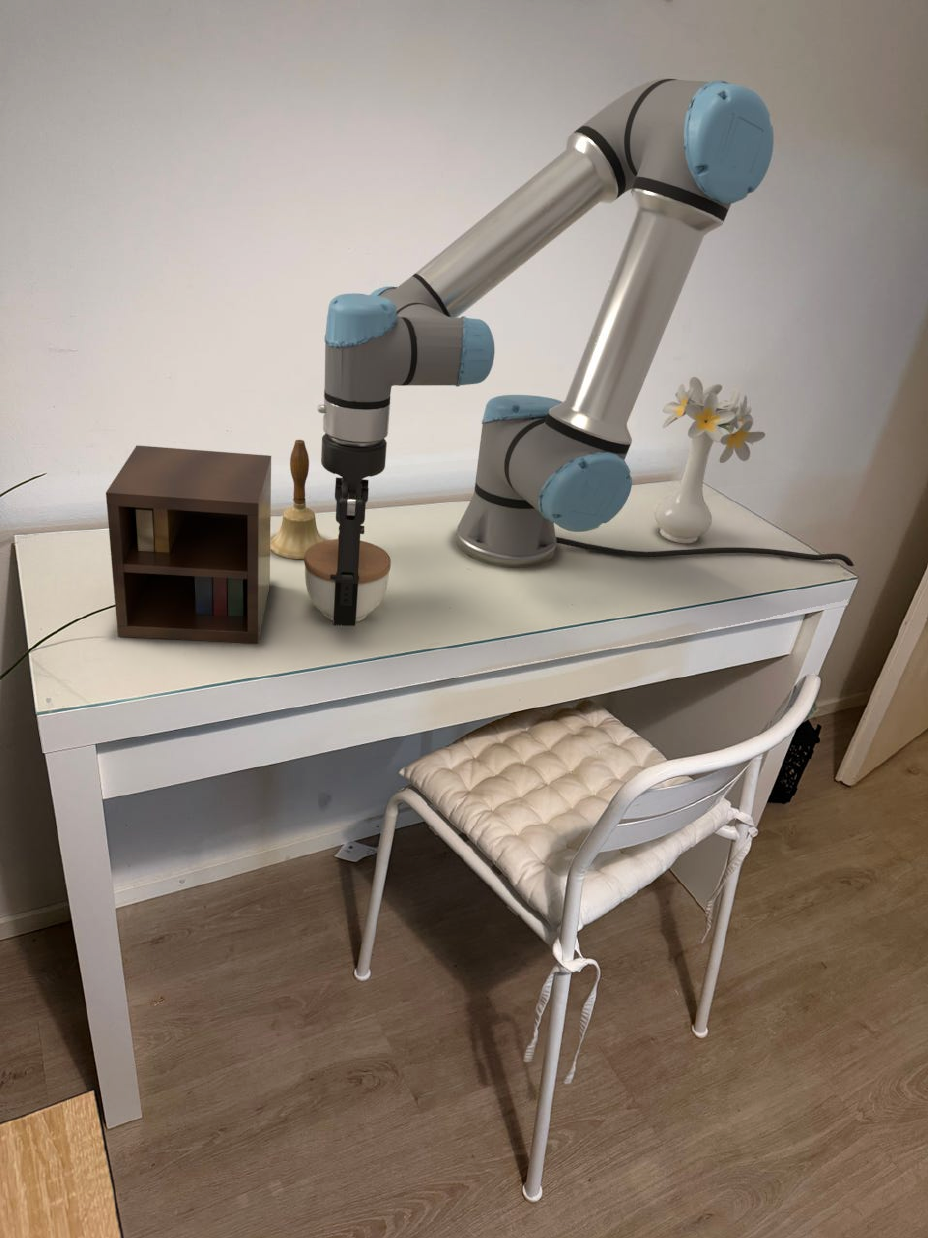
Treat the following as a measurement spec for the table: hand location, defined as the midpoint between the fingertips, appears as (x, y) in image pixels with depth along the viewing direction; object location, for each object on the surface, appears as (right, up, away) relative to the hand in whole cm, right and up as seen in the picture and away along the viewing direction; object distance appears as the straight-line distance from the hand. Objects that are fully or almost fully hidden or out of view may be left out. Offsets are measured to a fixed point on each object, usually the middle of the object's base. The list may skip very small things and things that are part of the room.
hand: (345, 601), depth 117 cm
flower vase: (+51, +11, +35) cm, 63 cm away
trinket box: (0, -1, +1) cm, 2 cm away
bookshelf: (-18, -1, -3) cm, 18 cm away
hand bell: (-9, +8, +15) cm, 19 cm away
